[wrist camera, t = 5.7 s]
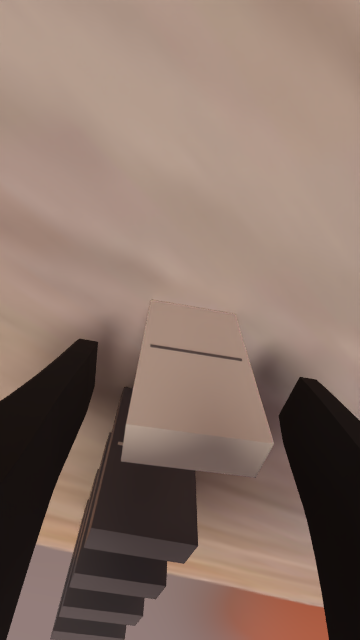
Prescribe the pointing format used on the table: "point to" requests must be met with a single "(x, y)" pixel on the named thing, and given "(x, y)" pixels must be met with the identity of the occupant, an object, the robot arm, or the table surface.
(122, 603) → the tile
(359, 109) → the table surface
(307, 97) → the table surface
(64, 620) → the tile
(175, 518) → the tile
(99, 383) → the table surface
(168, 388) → the ivory tile
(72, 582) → the tile
